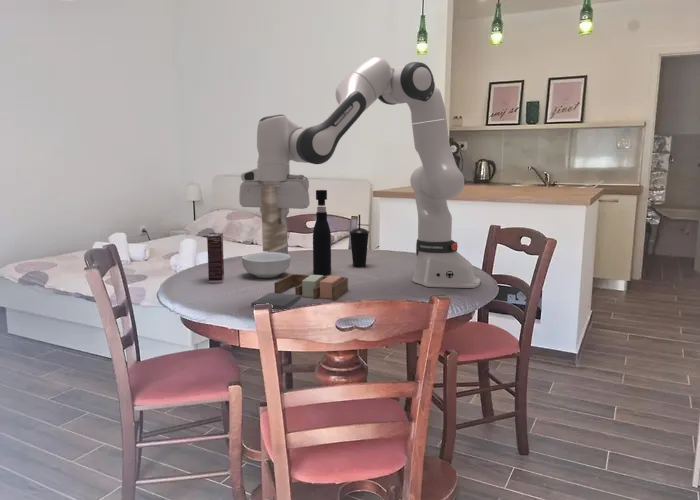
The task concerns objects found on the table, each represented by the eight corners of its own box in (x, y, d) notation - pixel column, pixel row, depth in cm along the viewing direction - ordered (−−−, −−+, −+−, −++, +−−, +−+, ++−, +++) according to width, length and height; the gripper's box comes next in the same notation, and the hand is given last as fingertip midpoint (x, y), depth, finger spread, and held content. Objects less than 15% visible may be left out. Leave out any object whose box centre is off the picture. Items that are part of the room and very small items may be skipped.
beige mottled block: (287, 246, 158) (286, 184, 155) (272, 251, 149) (271, 186, 146) (277, 245, 159) (276, 184, 156) (262, 251, 149) (261, 185, 146)
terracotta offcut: (341, 291, 169) (341, 276, 168) (332, 299, 161) (332, 282, 160) (329, 291, 170) (329, 275, 169) (319, 298, 162) (319, 281, 161)
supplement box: (223, 283, 181) (221, 236, 178) (208, 283, 180) (206, 236, 177) (224, 277, 189) (222, 232, 186) (210, 277, 188) (208, 232, 185)
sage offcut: (323, 290, 171) (323, 275, 170) (315, 297, 162) (314, 281, 161) (311, 290, 171) (311, 274, 171) (302, 297, 163) (302, 280, 162)
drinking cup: (345, 266, 208) (345, 214, 205) (359, 263, 213) (360, 213, 210) (358, 269, 202) (358, 216, 199) (373, 266, 207) (373, 214, 204)
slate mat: (300, 298, 161) (300, 295, 160) (284, 309, 149) (284, 305, 149) (269, 295, 163) (269, 292, 163) (251, 306, 152) (251, 302, 152)
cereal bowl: (235, 280, 185) (234, 259, 184) (251, 270, 201) (251, 251, 200) (283, 281, 182) (283, 261, 181) (296, 271, 199) (295, 252, 197)
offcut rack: (347, 289, 171) (347, 277, 170) (334, 300, 158) (334, 287, 158) (291, 285, 176) (291, 273, 176) (274, 295, 164) (274, 282, 163)
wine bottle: (328, 276, 190) (328, 190, 185) (311, 275, 192) (310, 190, 187) (332, 272, 197) (332, 189, 192) (315, 271, 198) (314, 189, 193)
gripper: (312, 174, 150) (313, 223, 152) (246, 173, 156) (247, 221, 158) (304, 175, 144) (304, 226, 147) (235, 174, 150) (237, 223, 152)
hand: (274, 223), depth 153 cm, fingers closed on beige mottled block, 3 cm apart
